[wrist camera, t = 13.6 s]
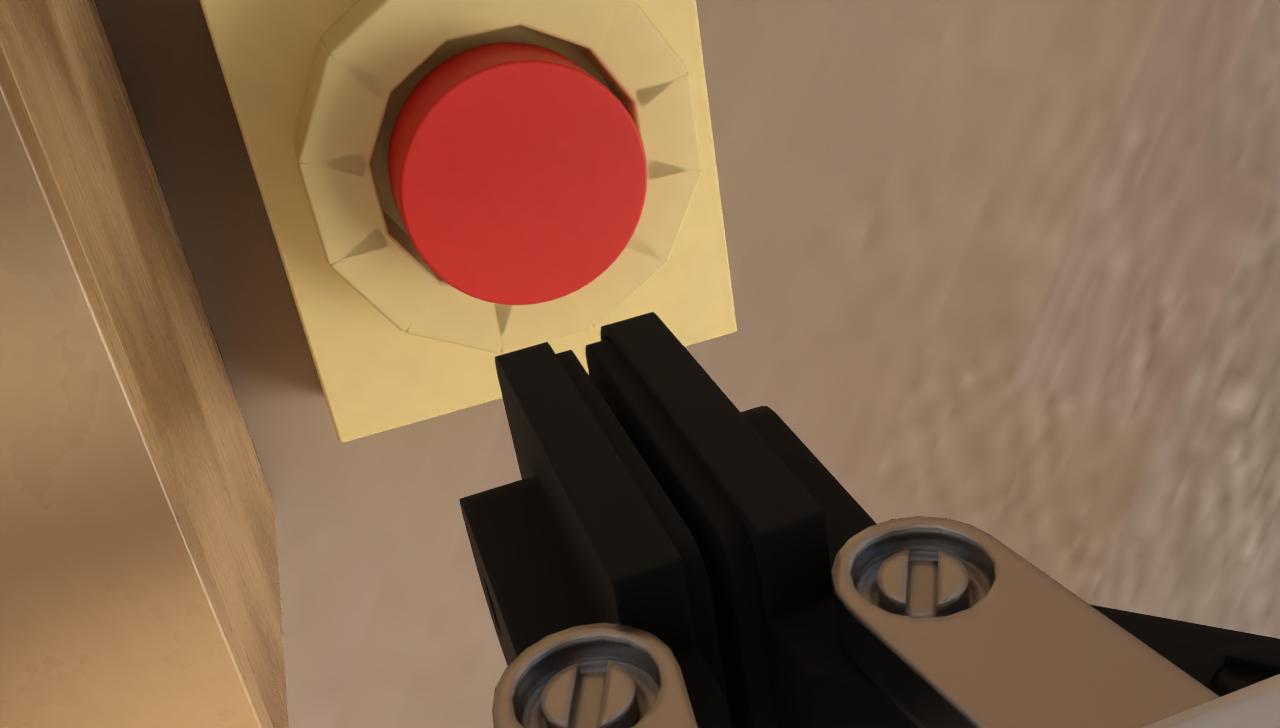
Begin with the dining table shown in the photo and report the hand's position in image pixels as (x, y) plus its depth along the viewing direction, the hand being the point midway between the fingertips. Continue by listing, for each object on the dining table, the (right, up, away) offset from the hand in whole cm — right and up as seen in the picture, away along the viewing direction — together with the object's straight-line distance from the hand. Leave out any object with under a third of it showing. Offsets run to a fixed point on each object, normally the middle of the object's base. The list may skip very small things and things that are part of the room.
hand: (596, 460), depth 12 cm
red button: (-2, +5, +10) cm, 11 cm away
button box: (-3, +6, +13) cm, 15 cm away
